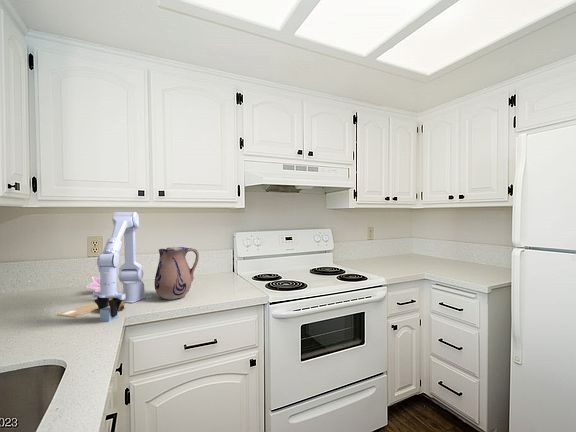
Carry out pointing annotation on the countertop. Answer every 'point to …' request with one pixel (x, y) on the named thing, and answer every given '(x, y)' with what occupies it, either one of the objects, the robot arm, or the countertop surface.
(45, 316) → the countertop surface
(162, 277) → the ceramic pitcher
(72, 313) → the envelope
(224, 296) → the countertop surface
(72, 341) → the countertop surface
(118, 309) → the bread roll
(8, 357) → the countertop surface
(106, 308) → the blue cube
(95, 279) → the lily
